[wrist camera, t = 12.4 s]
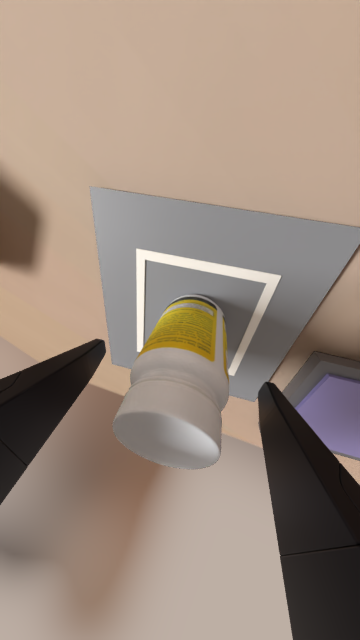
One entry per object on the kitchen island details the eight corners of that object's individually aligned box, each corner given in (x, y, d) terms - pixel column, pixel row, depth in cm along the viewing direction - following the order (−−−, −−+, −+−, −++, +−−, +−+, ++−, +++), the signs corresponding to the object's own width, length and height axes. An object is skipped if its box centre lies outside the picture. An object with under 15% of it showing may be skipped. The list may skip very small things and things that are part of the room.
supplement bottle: (152, 313, 13) (76, 419, 6) (201, 279, 11) (168, 384, 4) (188, 353, 15) (159, 476, 8) (237, 330, 12) (260, 474, 5)
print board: (362, 228, 9) (371, 229, 8) (253, 397, 17) (254, 403, 16) (94, 187, 10) (88, 185, 10) (114, 360, 18) (111, 364, 18)
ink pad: (480, 389, 12) (507, 407, 10) (364, 452, 17) (373, 467, 16) (314, 351, 13) (323, 363, 12) (258, 422, 19) (260, 435, 17)
